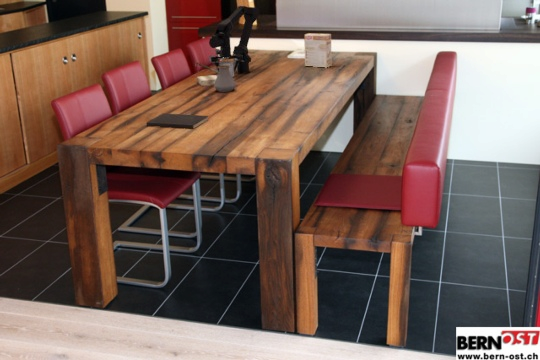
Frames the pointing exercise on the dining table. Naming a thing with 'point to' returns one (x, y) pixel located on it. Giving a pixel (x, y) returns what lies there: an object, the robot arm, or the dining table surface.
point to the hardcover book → (177, 121)
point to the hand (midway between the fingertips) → (226, 72)
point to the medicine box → (231, 68)
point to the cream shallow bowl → (206, 80)
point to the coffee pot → (222, 78)
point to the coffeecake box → (317, 50)
